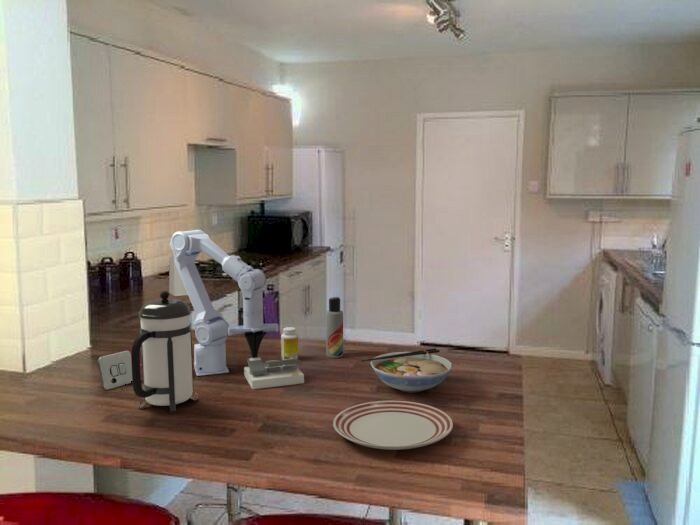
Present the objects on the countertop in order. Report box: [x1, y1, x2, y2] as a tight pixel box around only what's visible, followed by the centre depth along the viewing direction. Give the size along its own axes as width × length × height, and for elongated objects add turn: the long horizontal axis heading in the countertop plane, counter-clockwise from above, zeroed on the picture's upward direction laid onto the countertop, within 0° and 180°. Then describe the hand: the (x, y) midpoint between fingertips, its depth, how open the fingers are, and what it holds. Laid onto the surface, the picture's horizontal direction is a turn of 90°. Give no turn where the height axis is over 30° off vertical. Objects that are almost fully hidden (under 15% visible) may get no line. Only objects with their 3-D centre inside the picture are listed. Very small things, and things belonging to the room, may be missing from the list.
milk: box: [168, 253, 188, 297], centre depth 305 cm, size 12×12×26 cm
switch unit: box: [243, 364, 305, 390], centre depth 170 cm, size 15×13×4 cm
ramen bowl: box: [360, 347, 453, 394], centre depth 162 cm, size 25×23×8 cm
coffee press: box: [131, 290, 199, 414], centre depth 147 cm, size 17×16×30 cm
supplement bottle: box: [280, 326, 299, 360], centre depth 189 cm, size 6×6×10 cm
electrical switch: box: [96, 350, 132, 390], centre depth 165 cm, size 9×5×9 cm, turn 141°
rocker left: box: [247, 356, 266, 375], centre depth 167 cm, size 4×7×2 cm, turn 20°
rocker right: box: [279, 358, 300, 365], centre depth 171 cm, size 4×7×2 cm, turn 20°
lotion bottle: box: [325, 296, 344, 359], centre depth 192 cm, size 6×6×20 cm
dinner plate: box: [332, 400, 454, 451], centre depth 133 cm, size 28×27×3 cm
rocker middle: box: [263, 359, 283, 367], centre depth 169 cm, size 4×7×2 cm, turn 20°
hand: (254, 356), depth 170 cm, fingers closed
